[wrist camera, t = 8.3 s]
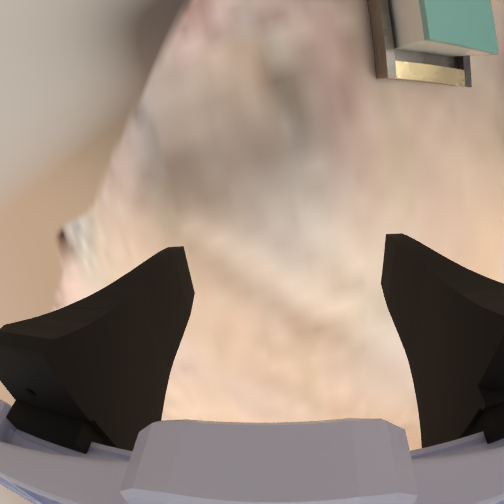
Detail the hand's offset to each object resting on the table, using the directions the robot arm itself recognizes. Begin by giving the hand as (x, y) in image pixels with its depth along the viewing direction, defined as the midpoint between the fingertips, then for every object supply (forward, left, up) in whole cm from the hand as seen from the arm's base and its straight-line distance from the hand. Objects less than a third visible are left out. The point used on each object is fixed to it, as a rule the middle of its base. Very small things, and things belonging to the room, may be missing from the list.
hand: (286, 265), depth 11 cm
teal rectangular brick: (-9, -12, -9) cm, 18 cm away
